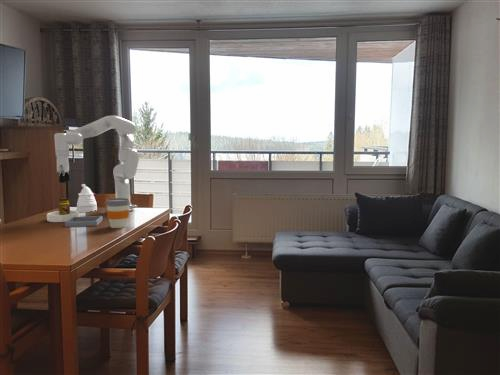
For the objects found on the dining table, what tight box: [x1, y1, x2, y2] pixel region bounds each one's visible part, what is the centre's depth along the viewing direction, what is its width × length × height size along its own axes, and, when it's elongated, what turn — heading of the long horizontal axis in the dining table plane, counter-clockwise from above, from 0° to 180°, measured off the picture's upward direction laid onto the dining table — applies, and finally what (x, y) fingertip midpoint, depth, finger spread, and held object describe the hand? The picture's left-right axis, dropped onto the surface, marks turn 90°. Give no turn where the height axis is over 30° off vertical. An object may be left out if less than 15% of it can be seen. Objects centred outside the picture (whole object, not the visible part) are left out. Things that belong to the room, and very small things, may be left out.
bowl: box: [46, 210, 80, 223], centre depth 254 cm, size 17×17×4 cm
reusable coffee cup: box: [105, 197, 131, 229], centre depth 231 cm, size 13×13×15 cm
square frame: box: [64, 215, 104, 228], centre depth 241 cm, size 17×17×2 cm
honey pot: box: [76, 183, 98, 213], centre depth 286 cm, size 13×13×18 cm
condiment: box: [58, 197, 71, 215], centre depth 254 cm, size 7×8×12 cm
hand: (64, 181), depth 254 cm, fingers open, 9 cm apart
